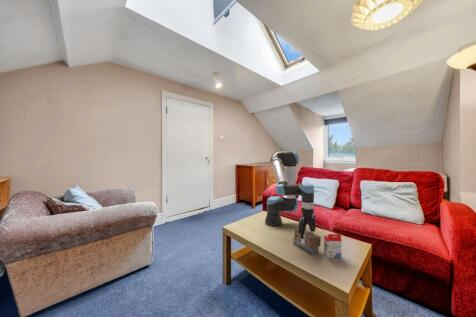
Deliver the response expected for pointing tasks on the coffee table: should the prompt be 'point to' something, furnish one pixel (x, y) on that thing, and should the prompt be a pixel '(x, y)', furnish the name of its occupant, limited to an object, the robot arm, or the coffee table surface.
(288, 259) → the coffee table surface
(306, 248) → the rail
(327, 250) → the ink box
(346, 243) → the coffee table surface
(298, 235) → the wooden block
